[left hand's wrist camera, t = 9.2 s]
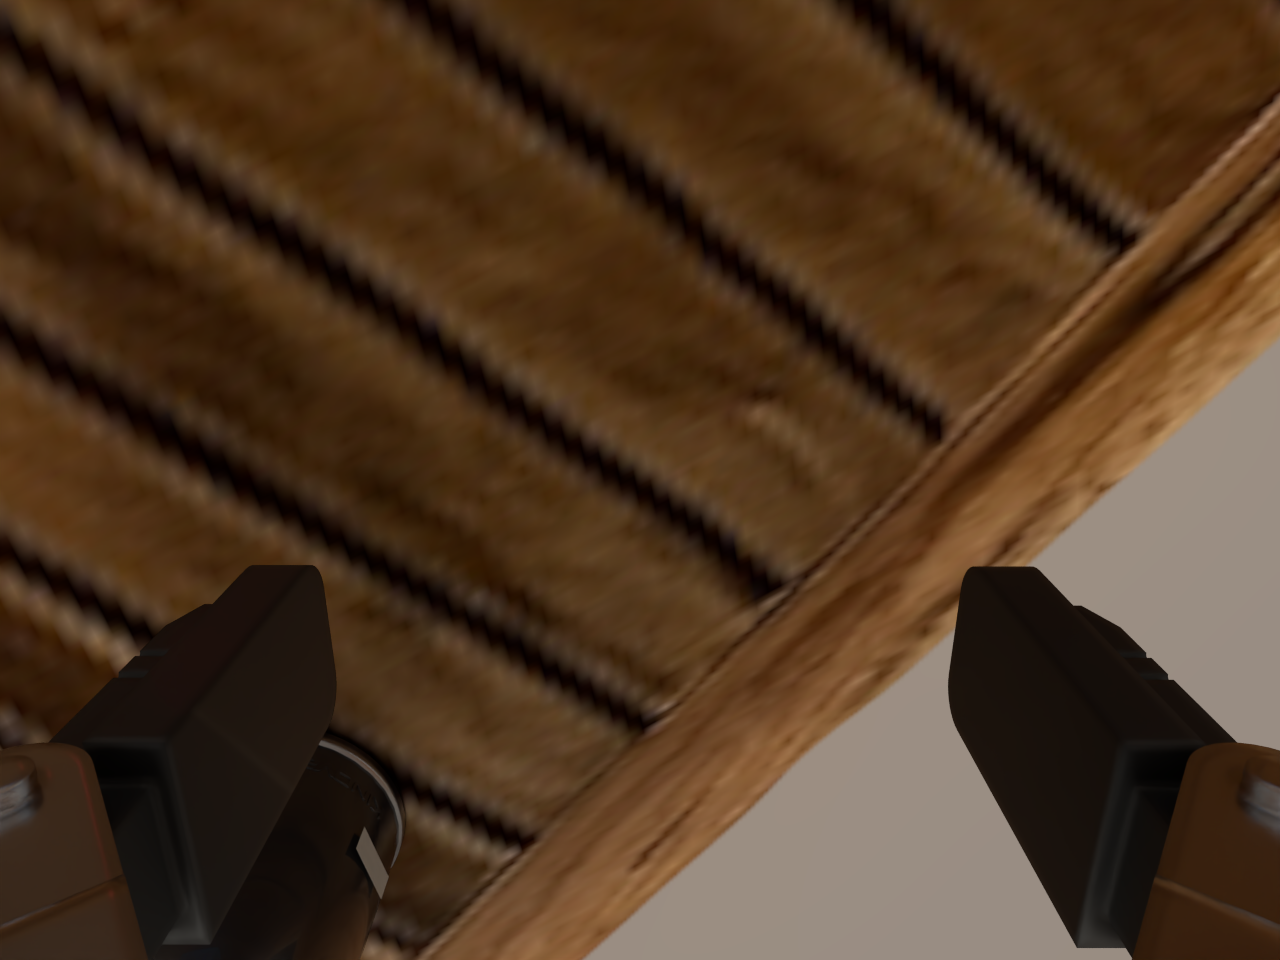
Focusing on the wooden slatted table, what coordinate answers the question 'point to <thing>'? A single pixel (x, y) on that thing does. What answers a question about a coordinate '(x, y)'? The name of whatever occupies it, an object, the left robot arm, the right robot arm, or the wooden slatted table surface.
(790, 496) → the wooden slatted table surface
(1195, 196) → the wooden slatted table surface
